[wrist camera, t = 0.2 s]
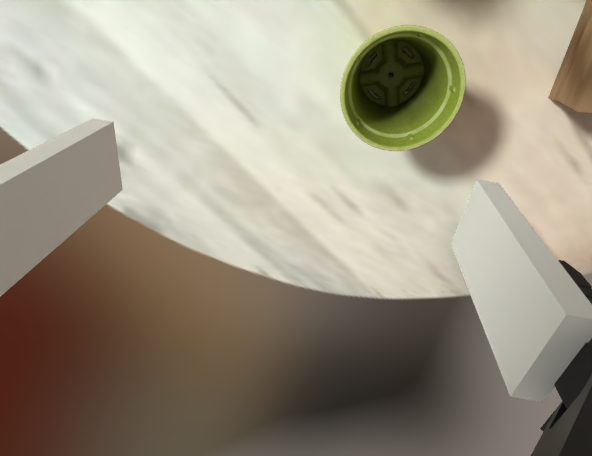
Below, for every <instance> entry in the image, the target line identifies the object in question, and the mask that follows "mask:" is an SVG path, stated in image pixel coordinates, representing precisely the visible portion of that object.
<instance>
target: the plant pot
mask: <svg viewBox="0 0 592 456" xmlns="http://www.w3.org/2000/svg"><path fill="white" fill-rule="evenodd" d="M402 48H407V49H408V50H409V51H410V52H411V53H412V54H413V58H412V59H411V58H410V57H409V56H408V55H407V54H406V53H405V52H402V50H401V49H402ZM375 53H376V54H377V56H376V57H375V58H374V59H373V61H372V62H371V63H370V65H369V67H367V62H368V60H369V59H370V58H371V56H372V55H373V54H375ZM390 72H392V73H393V74H394V76H393V77H392V78H389V77H388V74H389V73H390ZM465 81H466V77H465V70H464V65H463V62H462V59H461V57H460V55H459V53H458V51H457V50H456V48H455V47H454V46H453V45H452V43H451V42H450V41H449V40H448V39H446V38H445V37H444V36H442V35H441V34H439V33H438V32H436V31H433V30H431V29H428V28H425V27H421V26H415V25H402V26H396V27H392V28H388V29H386V30H383V31H381V32H379V33H377V34H375V35H373V36H372V37H371V38H369V39H368V40H367V41H365V42H364V43H363V44H362V45H361V46H360V47H359V48H358V49H357V51H356V52H355V53H354V55H353V56H352V57H351V59H350V61H349V63H348V65H347V67H346V69H345V72H344V74H343V78H342V82H341V89H340V101H341V108H342V112H343V115H344V118H345V120H346V122H347V124H348V126H349V127H350V129H351V130H352V131H353V132H354V133H355V135H356V136H357V137H359V138H360V139H361V140H362V141H364V142H365V143H367V144H369V145H371V146H373V147H376V148H379V149H383V150H388V151H404V150H410V149H413V148H416V147H419V146H421V145H424V144H426V143H428V142H430V141H431V140H433V139H434V138H436V137H437V136H438V135H440V134H441V133H442V132H443V131H444V130H445V129H446V128H447V127H448V125H449V124H450V123H451V122H452V120H453V119H454V117H455V116H456V114H457V112H458V110H459V108H460V106H461V103H462V101H463V96H464V92H465ZM413 82H414V86H413V87H412V89H411V91H410V92H409V93H408V94H406V95H404V92H405V91H406V90H407V89H408V88H409V86H410V85H411V83H413ZM370 90H373V92H374V93H375V94H377V95H378V96H379V97H381V99H377V98H375V97H373V96H372V95H371V94H370V92H369V91H370Z"/></svg>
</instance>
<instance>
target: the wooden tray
mask: <svg viewBox="0 0 592 456" xmlns="http://www.w3.org/2000/svg"><path fill="white" fill-rule="evenodd" d="M549 98H551V99H552V100H557V101H558V102H560V103H562V104H564V105H566V106H568V107H570V108H571V109H573V110H575V111H577V112H586V113H592V0H587V1H586V4H585V7H584V9H583V12H582V14H581V17H580V19H579V22H578V24H577V27H576V29H575V32H574V34H573V37H572V40H571V42H570V45H569V47H568V50H567V52H566V55H565V57H564V60H563V62H562V65H561V67H560V70H559V73H558V75H557V78H556V80H555V83H554V85H553V88H552V90H551V93H550V95H549Z"/></svg>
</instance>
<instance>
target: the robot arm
mask: <svg viewBox="0 0 592 456" xmlns="http://www.w3.org/2000/svg"><path fill="white" fill-rule="evenodd" d="M122 190H123V189H122V182H121V175H120V167H119V160H118V152H117V145H116V138H115V130H114V123H113V122H111V121H105V120H99V119H91V120H89V121H87V122H85V123H83V124H81V125H79V126H77V127H75V128H73V129H71V130H69V131H67V132H65V133H63V134H61V135H59V136H57V137H55V138H53V139H51V140H49V141H47V142H45V143H43V144H41V145H39V146H37V147H35V148H33V149H31V150H29V151H27V152H25V153H23V154H21V155H19V156H17V157H15V158H13V159H11V160H9V161H7V162H5V163H3V164H1V165H0V296H1V295H2V294H3V293H4V292H6V291H7V290H8V289H9V288H10V287H11V286H13V285H14V284H15V283H16V282H17V281H18V280H19V279H21V278H22V277H23V276H24V275H25V274H26V273H28V272H29V271H30V270H31V269H32V268H33V267H34V266H36V264H38V263H39V262H40V261H41V260H42V259H44V258H45V257H46V256H47V255H48V254H49V253H50V252H52V251H53V250H54V249H55V248H56V247H57V246H58V245H60V244H61V243H62V242H63V241H64V240H65V239H67V238H68V237H69V236H70V235H71V234H72V233H73V232H75V231H76V230H77V229H78V228H79V227H80V226H81V225H82V224H84V223H85V222H86V221H87V220H88V219H89V218H91V217H92V216H93V215H94V214H95V213H96V212H97V211H99V210H100V209H101V208H102V207H103V206H104V205H105V204H107V203H108V202H109V201H110V200H111V199H112V198H113V197H115V196H116V195H117V194H118V193H119V192H120V191H122ZM451 246H452V249H453V251H454V254H455V256H456V259H457V262H458V264H459V267H460V269H461V272H462V274H463V277H464V279H465V282H466V285H467V287H468V290H469V292H470V295H471V297H472V300H473V302H474V305H475V307H476V310H477V313H478V315H479V318H480V320H481V322H482V325H483V328H484V330H485V333H486V336H487V338H488V341H489V343H490V346H491V348H492V351H493V353H494V356H495V358H496V361H497V363H498V366H499V368H500V371H501V374H502V376H503V379H504V381H505V383H506V387H507V389H508V392H509V394H510V396H511V397H516V398H522V399H527V400H533V401H539V402H543V401H544V399H545V398H546V397H547V395H548V394H549V393H550V392H551V390H552V389H553V388H554V386H555V387H556V389H557V391H558V393H559V395H560V397H561V399H562V403H561V404H560V405H559V406H558V408H557V409H556V410H555V411H554V412H553V414H552V415H551V416H550V417H549V419H548V420H547V421H546V422H545V424H544V425H543V426H542V427H541V430H543V431H544V432H543V434H542V436H541V438H540V440H539V441H538V443H537V445H536V447H535V449H534V451H533V453H532V454H531V456H592V289H591V286H590V284H589V283H588V282H587V281H586V279H585V278H584V277H583V276H582V274H581V273H579V272H578V271H577V270H576V269H574V268H573V267H572V266H570V265H569V264H568V263H566V262H565V261H561V260H557V258H556V257H555V256H554V254H553V253H552V252H551V251H550V249H549V248H548V247H547V245H546V244H545V243H544V241H543V240H542V239H541V237H540V236H539V235H538V234H537V232H536V231H535V230H534V228H533V227H532V226H531V224H530V223H529V222H528V220H527V219H526V218H525V217H524V215H523V214H522V213H521V211H520V210H519V209H518V207H517V206H516V205H515V204H514V202H513V201H512V200H511V198H510V197H509V196H508V194H507V193H506V192H505V190H504V189H503V188H502V187H501V185H500V184H499V183H495V182H489V181H482V180H476V183H475V185H474V188H473V190H472V193H471V195H470V198H469V200H468V203H467V205H466V207H465V210H464V212H463V215H462V217H461V220H460V222H459V225H458V227H457V230H456V232H455V234H454V237H453V239H452V242H451Z"/></svg>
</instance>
